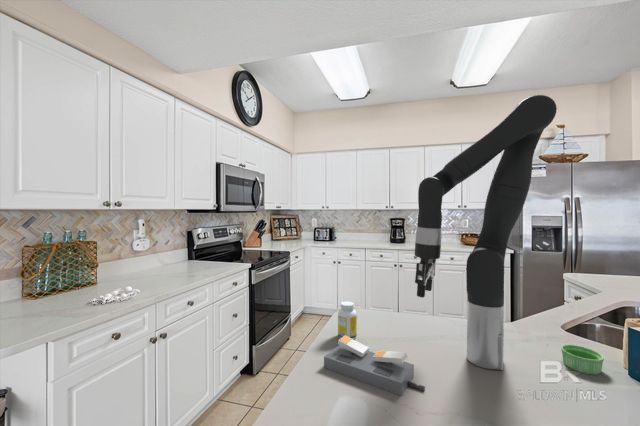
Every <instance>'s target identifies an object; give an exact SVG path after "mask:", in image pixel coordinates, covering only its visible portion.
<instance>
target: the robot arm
mask: <svg viewBox="0 0 640 426" xmlns="http://www.w3.org/2000/svg"><path fill="white" fill-rule="evenodd" d="M557 109H558V107H557V104H556V101H555V100H554V99H553V98H552V97H550V96H548V95H545V94H538V95H537V94H536V95H535V94H534V95H532V96H528V97H527V98H525V99H523V100H521V101H520V102H519V103H518V104H517V106H516V107H515V108H514V109H513V111H511V112H510V114H508V115H507V116H506V117H505V118H504V119H503V120H502V121H501V122H500V123H499V124H498V125H496V127H494V128H493V129H492V130H490V131H489V132H488V133H486V134H485V135H484V136H483V137H481V138H480V139H478V140H477V141H475V142H474V143H473V144H471V145H470V146H469V147H468V148H467V147H466V149H464V150H463V151H462V152H461V153H459V154H458V155H456V156H455V157H454V158H453V159H450V161H448V162H447V163H446V164H445V165H444V167H443V168H442V169H441V170H439V171H438V172H437V173H435V174H434V175H433V176H428V177H426V178H425V177H424V179H423V180H421V181H420V183H419V186H418V191H417V193H418V194H417V200H418V201H417V203H418V214H417V225H416V231H415V232H416V233H415V239H414V240H415V242H414V256H415V257H417V258H419V259H420V260H419V262H417V263H416V265H415V266H416V267H415V278H414V283H415V284H416V285H417V286H416V287H417V288H416V296H417V298H418V297H419V298H422V299H423V298H425V297H426V292H427V291H429V292H431V291H432V289H433V279H435V275H436V262H437V260H439V259H441V251H442V250H441V249H442V236H443V235H442V224H443V222H442V221H443V213H442V206H443V205H442V204H443V197H444V196H445V195H446V194H447V193H449V192H450V191H452V189H454V188H455V187H456V186H457V185H458V184H460V183H462V182H464V181H465V180H467V179H468V178H469V177H471V176H472V175H473V174H474V175H475V173H477V172H478V171H480V170H481V169H482V168H483V167H484V166H485V165H487V164H488V163H490V162H491V161H492V160H493V159H495V157H497V156H498V155H499V154H501V153H502V155H501V157H500V159H499V162H498V164H497V166H496V170H495V171H494V173H493V177H492V180H491V182H490V185H489V189H488V192H487V196H486V201H485V205H484V209H483V211H484V212H483V218H482V220H483V221H482V226H481V230H480V233H479V235H478V238H477V241H476V243H475V245H474V248H473V249H472V251H471V252H470V254H469V255H468V257H467V260H466V269H465V270H466V272H465V273H466V275H465V276H466V278H465V279H466V294H467V297H466V298H467V299H466V301H467V303H466V304H467V305H466V307H467V308H466V320H467V321H466V359H467V361H469V362H470V363H471V364H473V365H475V366H477V367H480V368H481V369H487V370H501V371H503V370H504V359H505V358H504V352H505V350H504V345H505V343H504V341H505V339H504V338H505V337H504V334H505V330H504V321H505V320H504V318H505V317H504V316H505V315H504V314H505V313H504V312H505V311H504V308H505V307H504V305H505V259H506V252H507V247H508V243H509V239H510V235H511V233H512V231H513V229H514V227H515V225H516V223H517V221H518V220H519V217H520V215H521V212H522V210H523V208H524V206H525V203H526V199H527V197H528V193H529V190H530V187H531V181H532V172H533V159H534V154H535V151H536V149H537V145H538V144H539V141H540V139H541V136H542V134H543V132H544V130H545V129H546V128H548V126H549V125H551V123H552V122H553V120H554V119H555V117H556V114H557Z"/></svg>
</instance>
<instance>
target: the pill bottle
mask: <svg viewBox="0 0 640 426" xmlns="http://www.w3.org/2000/svg"><path fill="white" fill-rule="evenodd" d="M339 306H340V309H339V310H338V312H337V335H338V337H339V339H341V338H342V337H343V336H345V335H346V336H347V337H349V338H351V339H353V340H355V339H356V338H357V336H358V335H357V333H358V332H357V330H358V328H357V326H358V325H357V323H358V321H357V319H358V316H357V315H358V314H357V311H356V310H355V309H354V308H355V303H354V302H352V301H341V302H340V305H339Z"/></svg>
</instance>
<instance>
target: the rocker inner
mask: <svg viewBox="0 0 640 426" xmlns="http://www.w3.org/2000/svg"><path fill="white" fill-rule="evenodd" d="M375 353H376V354H375V355H374V356H373V360H374V361H379V362H390V363H402V364H403V362H406V360H407V358H408V353H407V352H406V351H396V350H395V351H394V350H393V351H392V350H378V351H377V352H375Z"/></svg>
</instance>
